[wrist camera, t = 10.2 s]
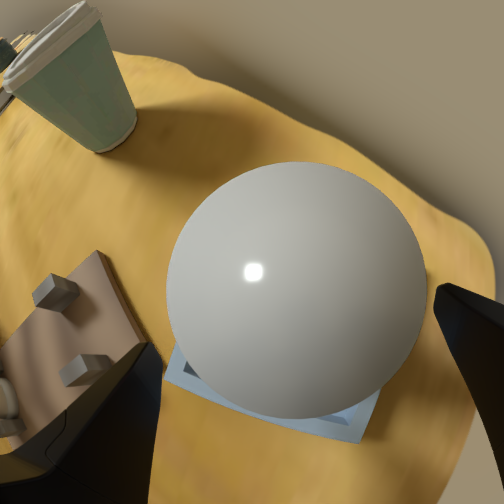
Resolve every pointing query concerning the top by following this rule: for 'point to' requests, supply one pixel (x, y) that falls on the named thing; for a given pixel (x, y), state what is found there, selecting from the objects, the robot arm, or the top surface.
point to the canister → (6, 54)
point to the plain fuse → (8, 400)
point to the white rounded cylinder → (296, 290)
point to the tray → (330, 426)
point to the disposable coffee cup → (75, 80)
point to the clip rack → (65, 345)
